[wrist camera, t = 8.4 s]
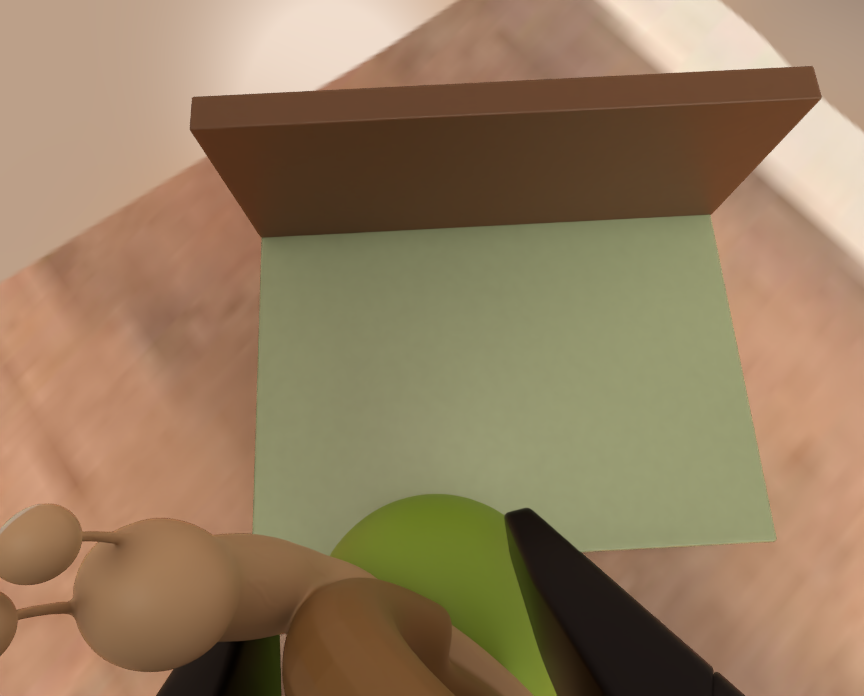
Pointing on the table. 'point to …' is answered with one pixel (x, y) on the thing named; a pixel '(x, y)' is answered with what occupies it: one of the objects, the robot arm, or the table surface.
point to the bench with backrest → (504, 300)
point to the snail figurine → (298, 598)
